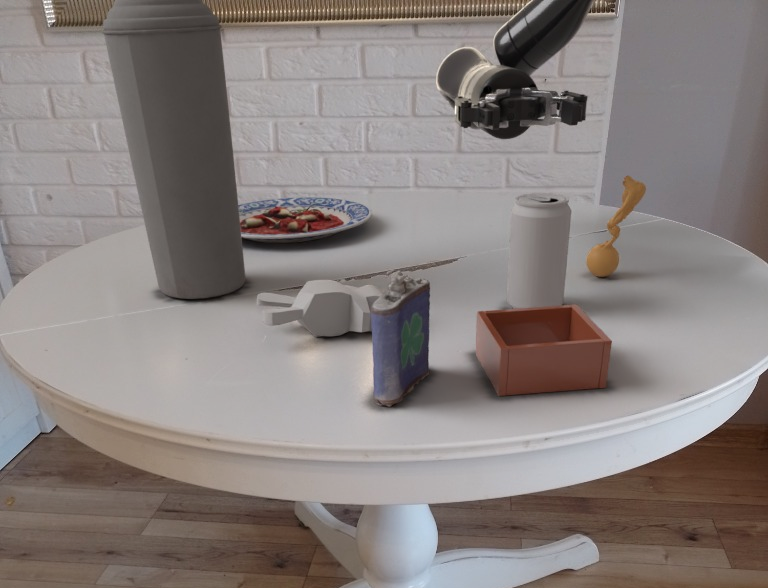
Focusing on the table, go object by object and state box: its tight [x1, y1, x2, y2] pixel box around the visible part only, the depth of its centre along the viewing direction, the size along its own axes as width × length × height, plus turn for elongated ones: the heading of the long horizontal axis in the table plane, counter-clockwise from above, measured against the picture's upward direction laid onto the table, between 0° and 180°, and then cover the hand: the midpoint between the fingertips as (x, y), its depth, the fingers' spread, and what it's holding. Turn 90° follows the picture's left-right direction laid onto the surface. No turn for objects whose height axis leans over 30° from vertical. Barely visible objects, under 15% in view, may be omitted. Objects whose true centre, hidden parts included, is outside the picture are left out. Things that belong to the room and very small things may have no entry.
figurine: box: [585, 175, 647, 278], centre depth 96 cm, size 8×6×12 cm
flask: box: [371, 269, 431, 408], centre depth 71 cm, size 9×3×11 cm, turn 154°
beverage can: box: [506, 192, 572, 309], centre depth 88 cm, size 6×6×12 cm
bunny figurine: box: [256, 279, 385, 338], centre depth 86 cm, size 10×5×15 cm
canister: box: [101, 0, 246, 300], centre depth 92 cm, size 13×13×35 cm
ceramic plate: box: [238, 196, 373, 244], centre depth 125 cm, size 26×26×3 cm
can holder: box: [475, 304, 613, 397], centre depth 75 cm, size 10×10×4 cm
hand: (536, 116), depth 84 cm, fingers open, 8 cm apart
